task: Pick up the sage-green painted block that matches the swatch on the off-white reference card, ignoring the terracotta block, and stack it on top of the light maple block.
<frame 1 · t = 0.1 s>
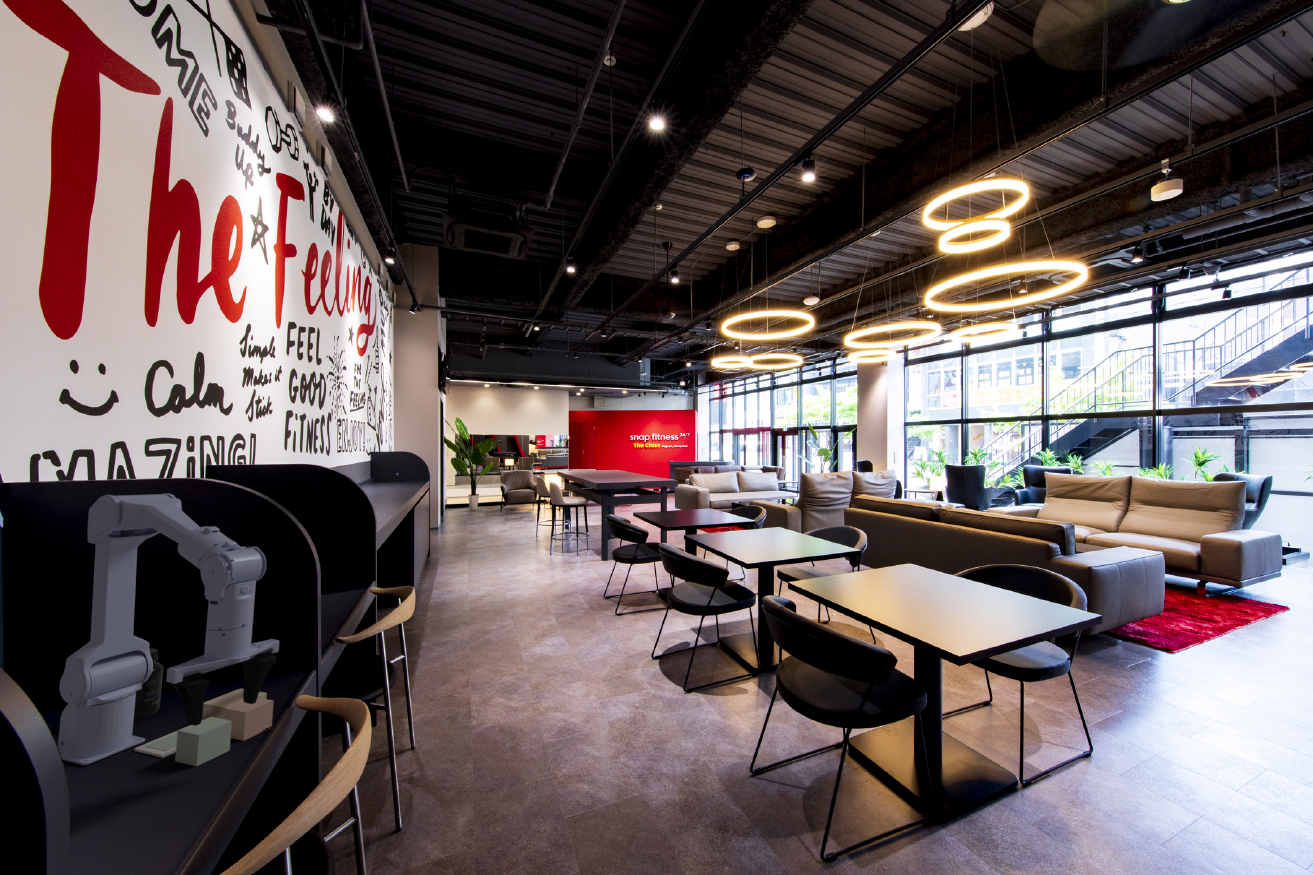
hand: (223, 712, 80), 10 cm above the counter, tool pointing down, fingers open, 7 cm apart
maple block: (233, 718, 98), on the counter
supplement bottle: (135, 716, 99), on the counter
reference card: (172, 743, 89), on the counter
sage block: (202, 756, 85), on the counter
terracotta block: (247, 732, 93), on the counter
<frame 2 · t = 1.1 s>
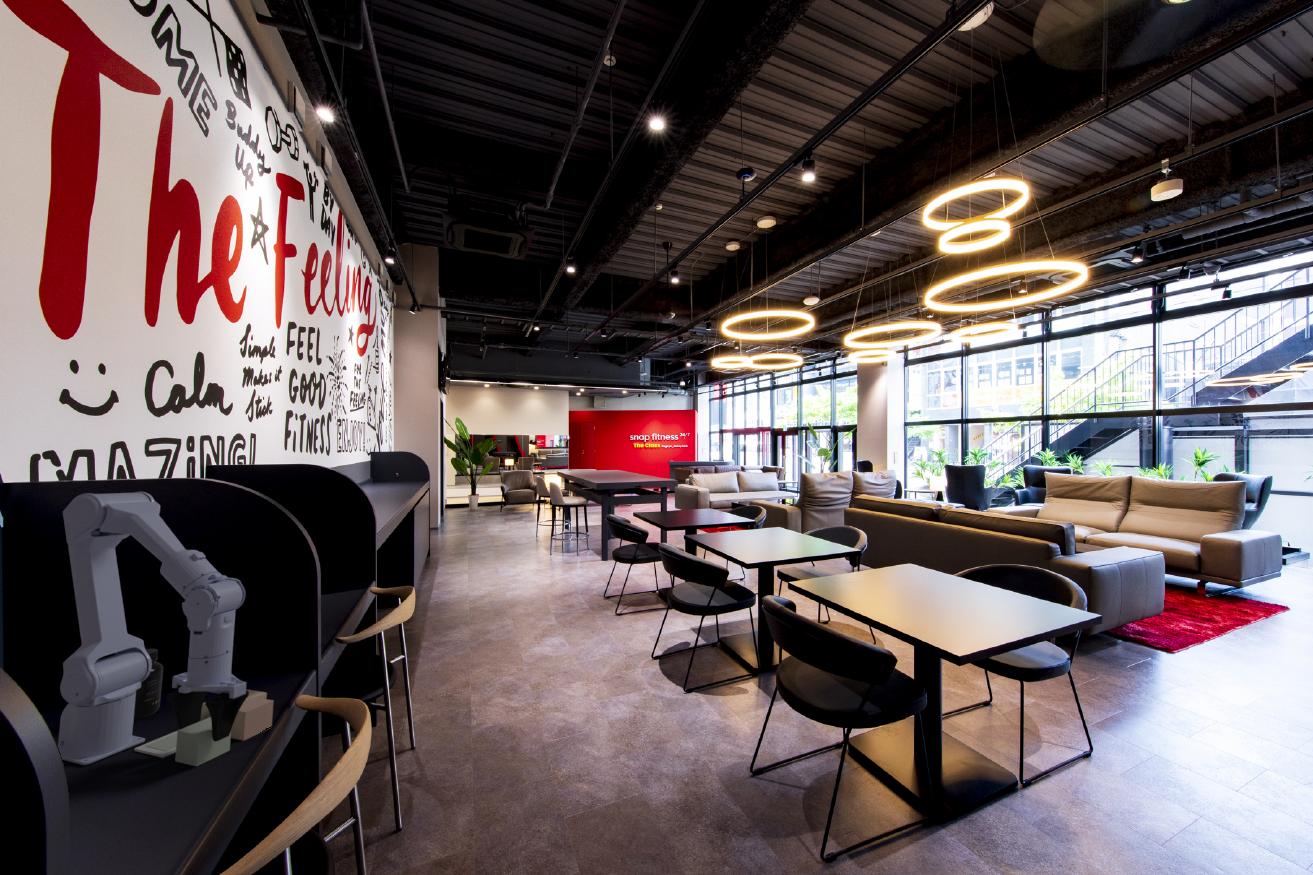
hand: (205, 734, 86), 3 cm above the counter, tool pointing down, fingers open, 7 cm apart
nothing on the counter moved.
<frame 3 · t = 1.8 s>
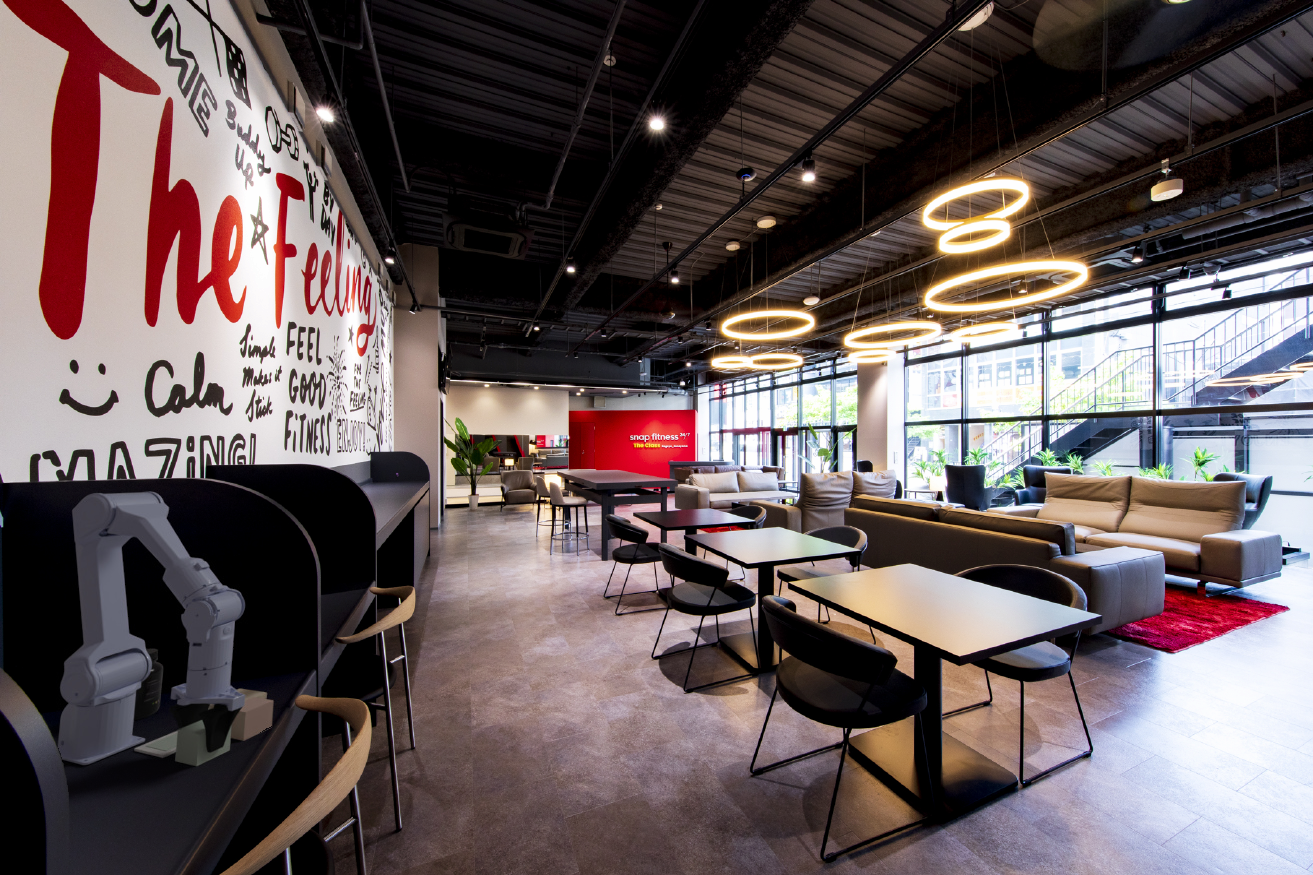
hand: (203, 746, 85), 1 cm above the counter, tool pointing down, fingers closed on sage block, 5 cm apart
sage block: (203, 755, 85), on the counter, touching gripper
everything else where it was.
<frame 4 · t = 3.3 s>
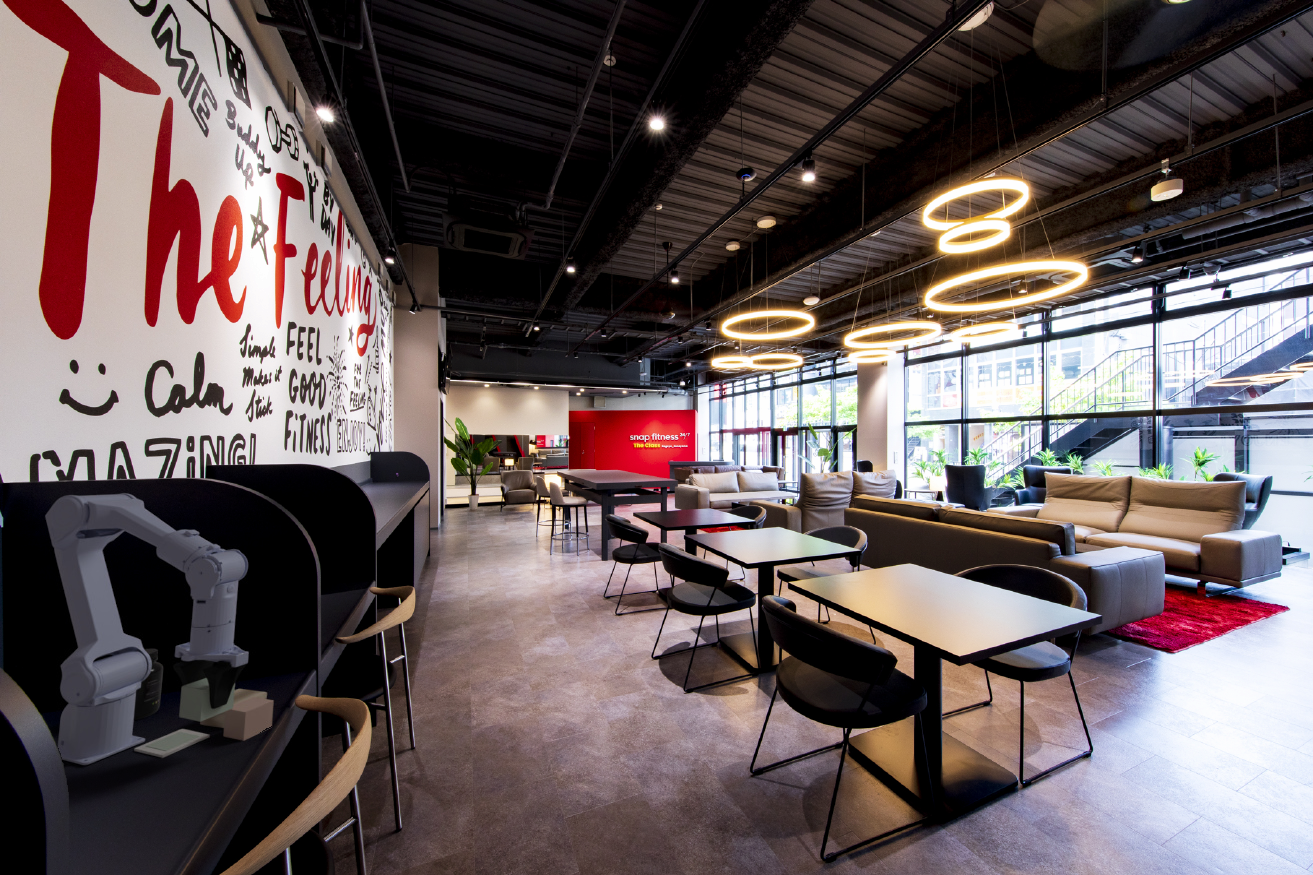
hand: (207, 703, 86), 8 cm above the counter, tool pointing down, fingers closed on sage block, 5 cm apart
sage block: (206, 712, 86), point 7 cm above the counter, touching gripper
everything else where it was.
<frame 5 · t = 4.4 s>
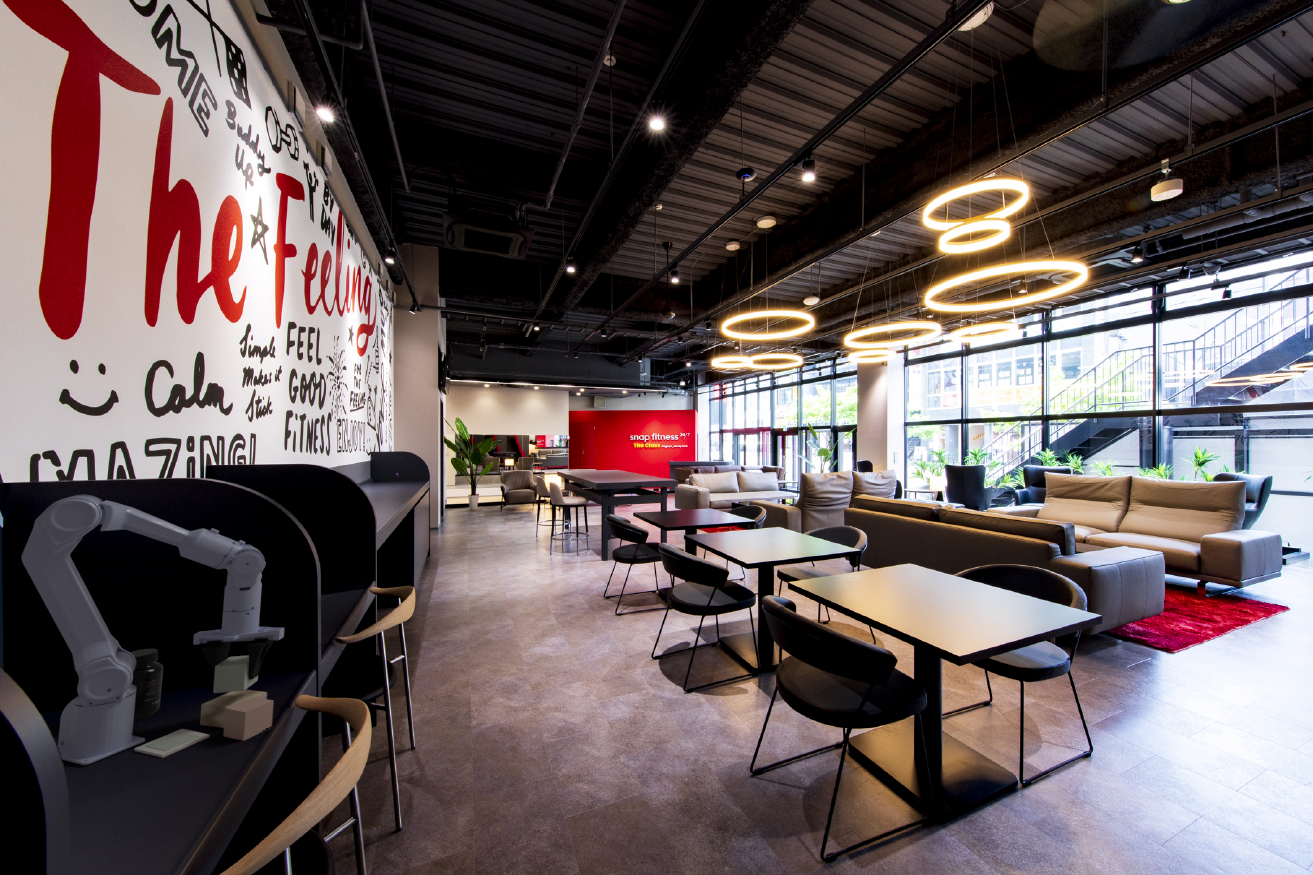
hand: (236, 678, 99), 7 cm above the counter, tool pointing down, fingers closed on sage block, 5 cm apart
sage block: (236, 686, 99), point 6 cm above the counter, touching gripper
everything else where it was.
when the fingers open (7 cm above the counter, at t = 5.0 s): sage block drops 2 cm, resting on maple block.
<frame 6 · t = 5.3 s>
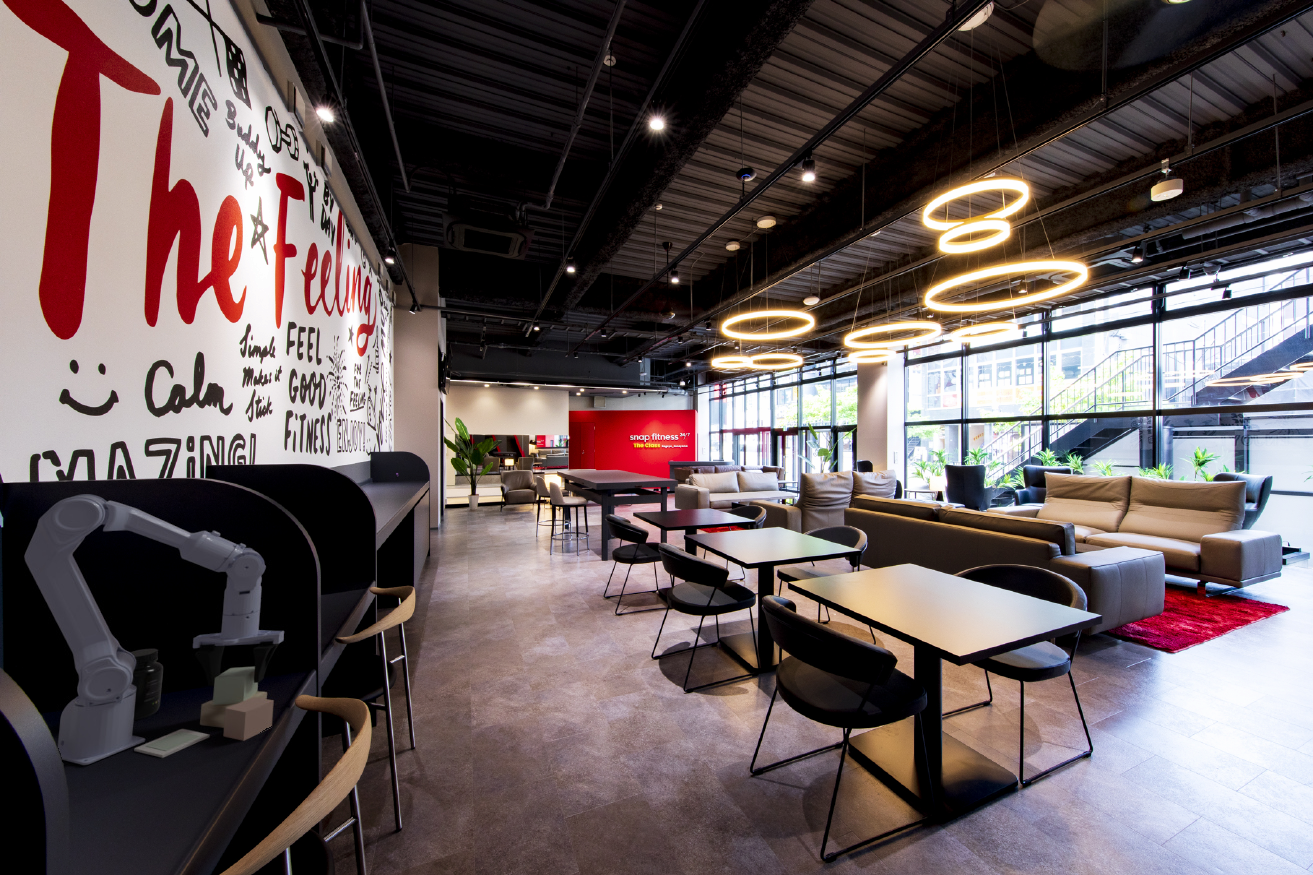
hand: (236, 682, 99), 7 cm above the counter, tool pointing down, fingers open, 7 cm apart
maple block: (233, 719, 98), on the counter, touching sage block
sage block: (235, 698, 99), point 4 cm above the counter, touching maple block
everything else where it was.
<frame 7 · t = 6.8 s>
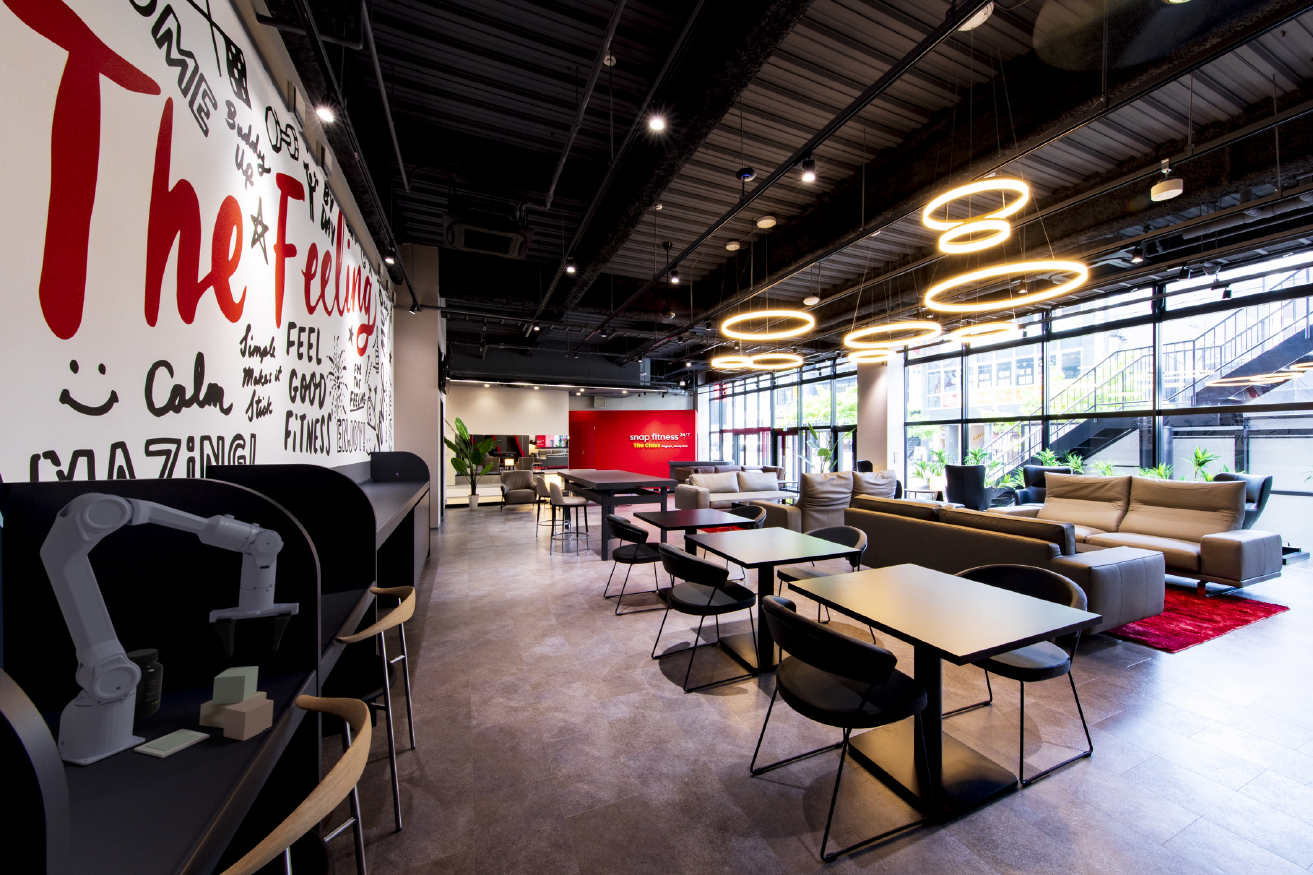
hand: (252, 652, 105), 10 cm above the counter, tool pointing down, fingers open, 7 cm apart
maple block: (233, 719, 98), on the counter
sage block: (234, 697, 99), point 4 cm above the counter
everything else where it was.
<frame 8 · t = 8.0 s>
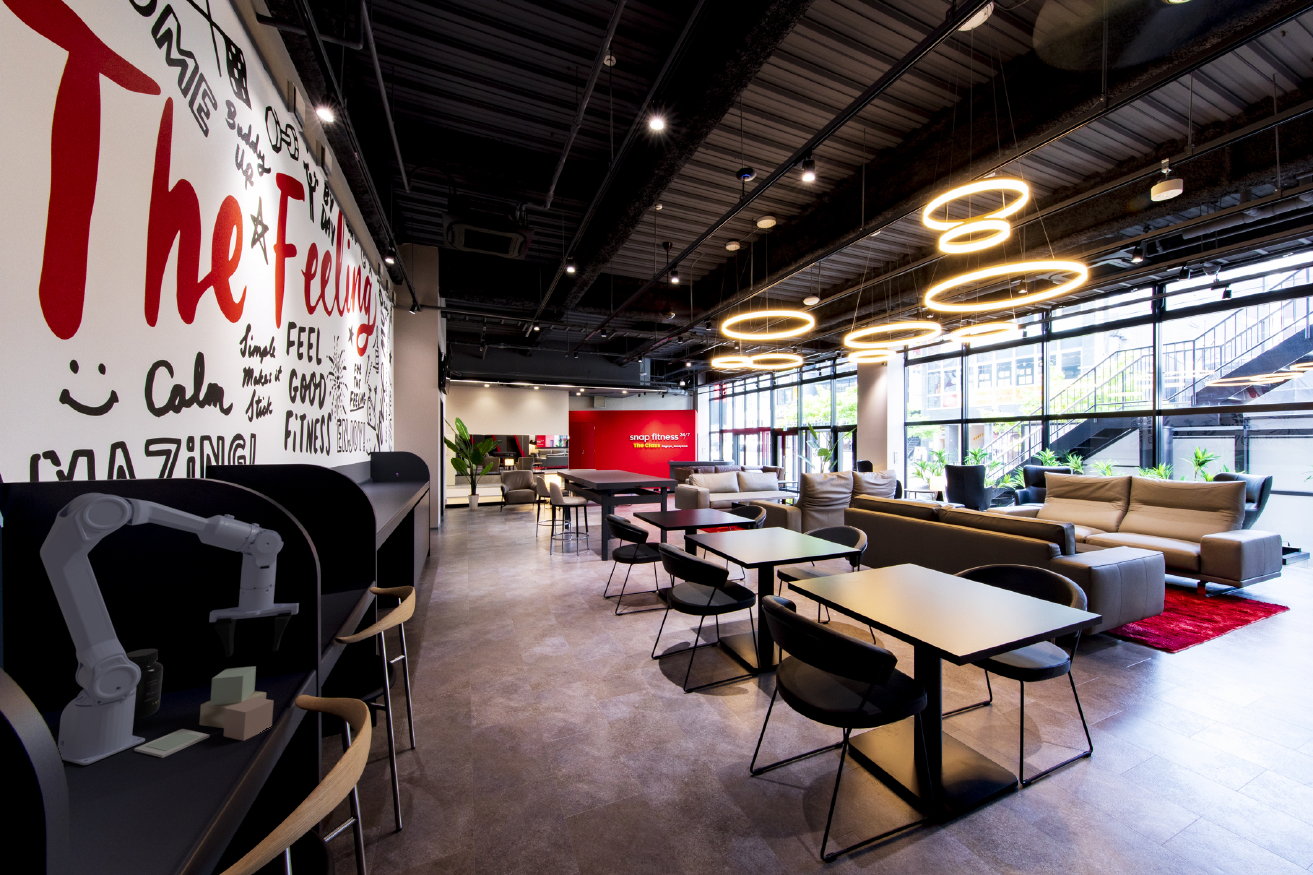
hand: (252, 652, 105), 10 cm above the counter, tool pointing down, fingers open, 7 cm apart
nothing on the counter moved.
at the end: sage block 0.3 cm off-centre on the maple block, point 4.0 cm above the maple block's base; sage block tilted 0°; the gripper is holding nothing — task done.
